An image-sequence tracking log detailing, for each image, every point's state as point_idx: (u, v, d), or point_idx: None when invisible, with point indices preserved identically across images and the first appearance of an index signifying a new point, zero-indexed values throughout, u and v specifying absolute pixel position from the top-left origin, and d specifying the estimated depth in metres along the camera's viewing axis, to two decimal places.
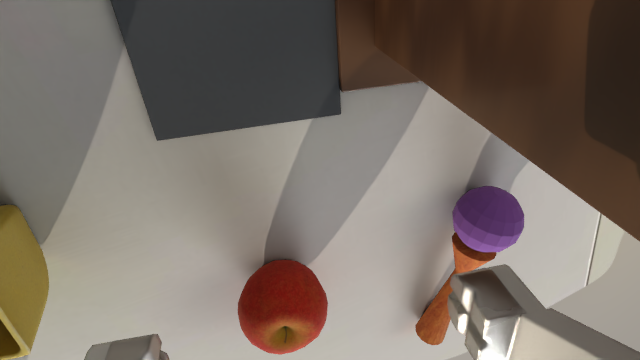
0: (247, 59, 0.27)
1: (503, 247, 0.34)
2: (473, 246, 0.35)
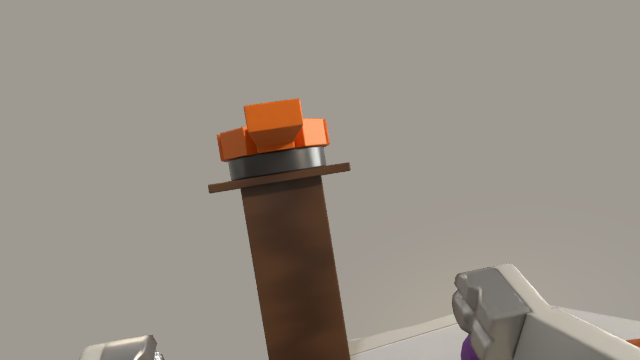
0: None
1: None
2: None
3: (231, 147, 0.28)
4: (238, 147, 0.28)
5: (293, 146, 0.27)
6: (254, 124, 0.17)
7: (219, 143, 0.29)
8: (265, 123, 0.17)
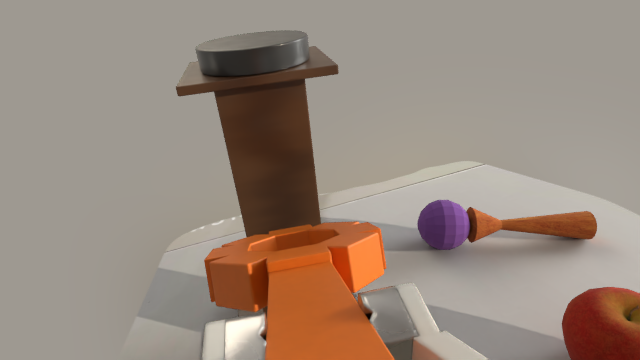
0: None
1: (452, 203, 0.46)
2: (463, 220, 0.45)
3: (229, 291, 0.16)
4: (240, 295, 0.16)
5: None
6: None
7: (208, 273, 0.18)
8: None
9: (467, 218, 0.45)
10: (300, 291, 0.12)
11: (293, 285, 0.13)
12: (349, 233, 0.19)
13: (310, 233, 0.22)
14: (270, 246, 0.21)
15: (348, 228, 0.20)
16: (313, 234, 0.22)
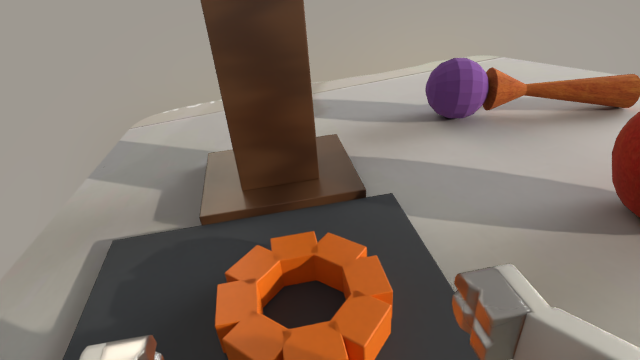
0: None
1: (469, 59, 0.38)
2: (482, 76, 0.37)
3: None
4: None
5: None
6: None
7: (219, 335, 0.18)
8: None
9: (486, 76, 0.38)
10: None
11: None
12: (361, 294, 0.18)
13: (315, 258, 0.21)
14: (275, 272, 0.21)
15: (358, 273, 0.20)
16: (319, 260, 0.21)
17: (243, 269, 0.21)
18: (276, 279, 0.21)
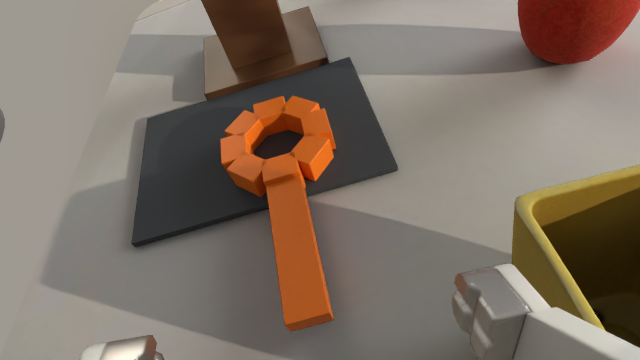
0: None
1: None
2: None
3: (243, 184, 0.28)
4: (250, 189, 0.28)
5: (304, 187, 0.28)
6: (295, 328, 0.21)
7: (226, 168, 0.29)
8: (303, 327, 0.21)
9: None
10: (286, 218, 0.25)
11: (282, 208, 0.25)
12: (311, 135, 0.28)
13: (284, 115, 0.31)
14: (257, 127, 0.31)
15: (310, 121, 0.29)
16: (286, 116, 0.31)
17: (236, 127, 0.31)
18: (259, 132, 0.31)
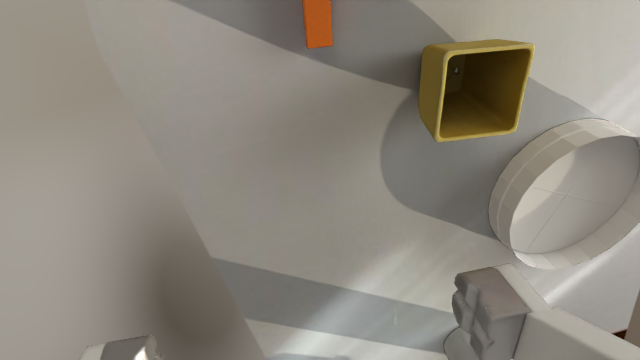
0: None
1: None
2: None
3: None
4: None
5: None
6: None
7: None
8: None
9: None
10: None
11: None
12: None
13: None
14: None
15: None
16: None
17: None
18: None
